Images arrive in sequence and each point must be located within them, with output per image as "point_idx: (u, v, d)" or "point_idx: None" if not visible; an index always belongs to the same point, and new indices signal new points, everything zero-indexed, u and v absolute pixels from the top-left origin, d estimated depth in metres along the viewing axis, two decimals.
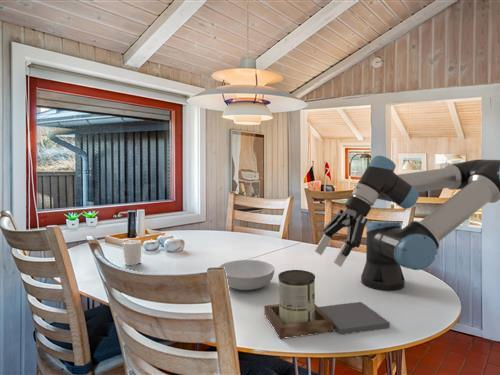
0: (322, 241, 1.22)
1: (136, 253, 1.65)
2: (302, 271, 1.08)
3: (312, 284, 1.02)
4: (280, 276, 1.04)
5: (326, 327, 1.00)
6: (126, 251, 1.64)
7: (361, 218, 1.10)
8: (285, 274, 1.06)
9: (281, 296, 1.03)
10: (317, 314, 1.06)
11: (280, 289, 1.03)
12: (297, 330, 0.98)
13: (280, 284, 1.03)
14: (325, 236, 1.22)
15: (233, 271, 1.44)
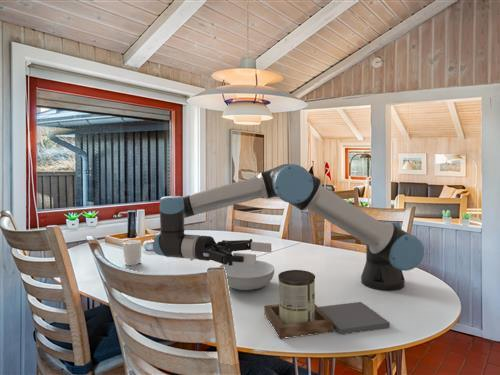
0: (258, 250, 1.15)
1: (136, 253, 1.65)
2: (302, 271, 1.08)
3: (312, 284, 1.02)
4: (280, 276, 1.04)
5: (326, 327, 1.00)
6: (126, 251, 1.64)
7: (205, 257, 1.07)
8: (285, 274, 1.06)
9: (281, 296, 1.03)
10: (317, 314, 1.06)
11: (280, 289, 1.03)
12: (297, 330, 0.98)
13: (280, 284, 1.03)
14: (252, 249, 1.16)
15: (233, 271, 1.44)
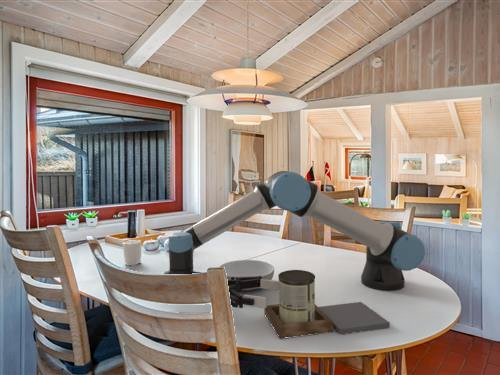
0: (267, 287, 1.15)
1: (136, 253, 1.65)
2: (302, 271, 1.08)
3: (312, 284, 1.02)
4: (280, 276, 1.04)
5: (326, 327, 1.00)
6: (126, 251, 1.64)
7: None
8: (285, 274, 1.06)
9: (281, 296, 1.03)
10: (317, 314, 1.06)
11: (280, 289, 1.03)
12: (297, 330, 0.98)
13: (280, 284, 1.03)
14: (261, 287, 1.15)
15: (233, 271, 1.44)
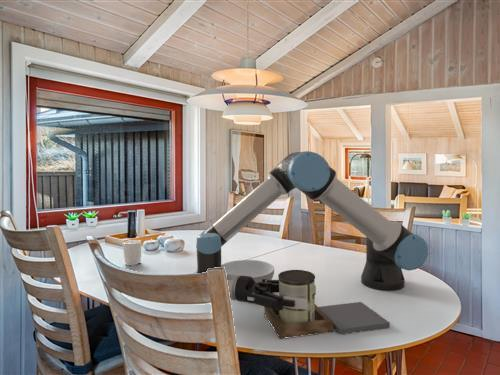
0: None
1: (136, 253, 1.65)
2: (302, 271, 1.08)
3: (312, 284, 1.02)
4: (280, 276, 1.04)
5: (326, 327, 1.00)
6: (126, 251, 1.64)
7: (250, 301, 1.03)
8: (285, 274, 1.06)
9: (281, 295, 1.03)
10: (317, 314, 1.06)
11: (280, 289, 1.03)
12: (297, 330, 0.98)
13: (280, 284, 1.03)
14: None
15: (233, 271, 1.44)
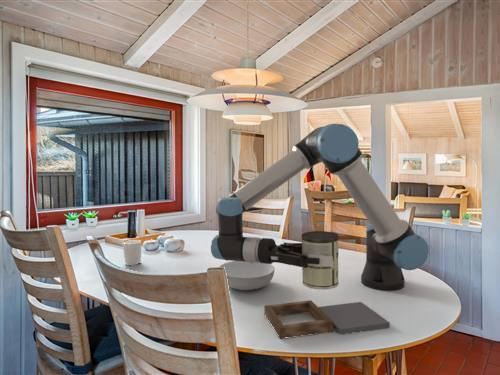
0: None
1: (136, 253, 1.65)
2: (325, 232, 1.08)
3: (336, 242, 1.01)
4: (303, 235, 1.04)
5: (326, 327, 1.00)
6: (126, 251, 1.64)
7: (274, 261, 1.03)
8: (308, 234, 1.06)
9: (305, 254, 1.02)
10: (317, 314, 1.06)
11: (303, 249, 1.03)
12: (297, 330, 0.98)
13: (304, 243, 1.03)
14: None
15: (233, 271, 1.44)
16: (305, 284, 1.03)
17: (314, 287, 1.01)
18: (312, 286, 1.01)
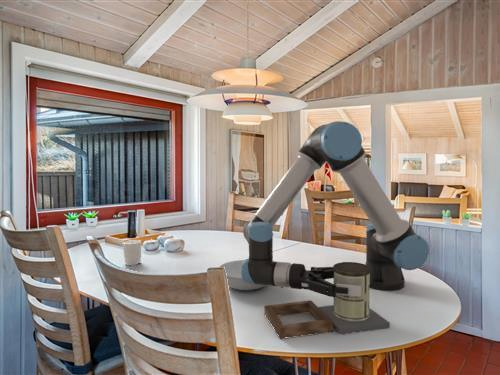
0: None
1: (136, 253, 1.65)
2: (355, 263, 1.10)
3: (368, 275, 1.03)
4: (335, 268, 1.06)
5: (326, 327, 1.00)
6: (126, 251, 1.64)
7: (304, 287, 1.05)
8: (339, 265, 1.08)
9: None
10: (317, 314, 1.06)
11: (336, 281, 1.05)
12: (297, 330, 0.98)
13: (336, 275, 1.05)
14: None
15: (233, 271, 1.44)
16: (337, 315, 1.05)
17: (347, 319, 1.03)
18: (344, 318, 1.03)
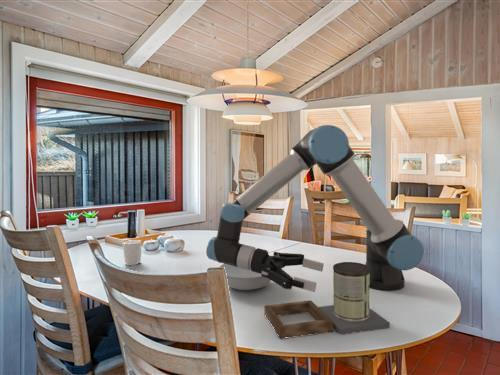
0: (309, 267, 1.19)
1: (136, 253, 1.65)
2: (355, 263, 1.10)
3: (368, 275, 1.03)
4: (335, 268, 1.06)
5: (326, 327, 1.00)
6: (126, 251, 1.64)
7: (264, 275, 1.10)
8: (339, 265, 1.08)
9: (337, 287, 1.05)
10: (317, 314, 1.06)
11: (336, 281, 1.05)
12: (297, 330, 0.98)
13: (336, 275, 1.05)
14: (303, 265, 1.19)
15: (233, 271, 1.44)
16: (337, 315, 1.05)
17: (347, 319, 1.03)
18: (344, 318, 1.03)
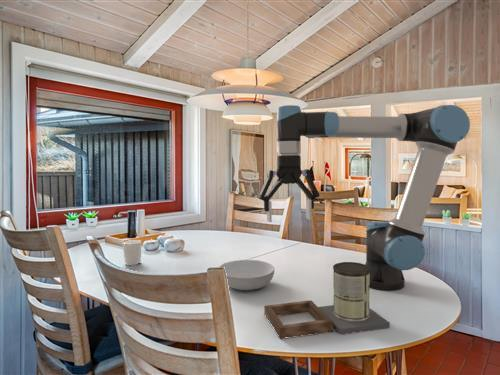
0: (306, 206, 1.23)
1: (136, 253, 1.65)
2: (355, 263, 1.10)
3: (368, 275, 1.03)
4: (335, 268, 1.06)
5: (326, 327, 1.00)
6: (126, 251, 1.64)
7: (268, 173, 1.19)
8: (339, 265, 1.08)
9: (337, 287, 1.05)
10: (317, 314, 1.06)
11: (336, 281, 1.05)
12: (297, 330, 0.98)
13: (336, 275, 1.05)
14: (306, 200, 1.23)
15: (233, 271, 1.44)
16: (337, 315, 1.05)
17: (347, 319, 1.03)
18: (344, 318, 1.03)
